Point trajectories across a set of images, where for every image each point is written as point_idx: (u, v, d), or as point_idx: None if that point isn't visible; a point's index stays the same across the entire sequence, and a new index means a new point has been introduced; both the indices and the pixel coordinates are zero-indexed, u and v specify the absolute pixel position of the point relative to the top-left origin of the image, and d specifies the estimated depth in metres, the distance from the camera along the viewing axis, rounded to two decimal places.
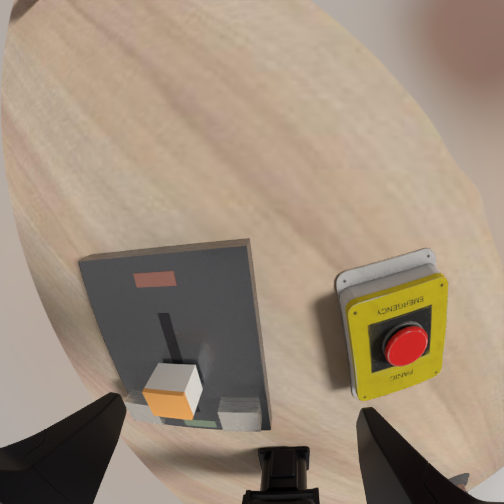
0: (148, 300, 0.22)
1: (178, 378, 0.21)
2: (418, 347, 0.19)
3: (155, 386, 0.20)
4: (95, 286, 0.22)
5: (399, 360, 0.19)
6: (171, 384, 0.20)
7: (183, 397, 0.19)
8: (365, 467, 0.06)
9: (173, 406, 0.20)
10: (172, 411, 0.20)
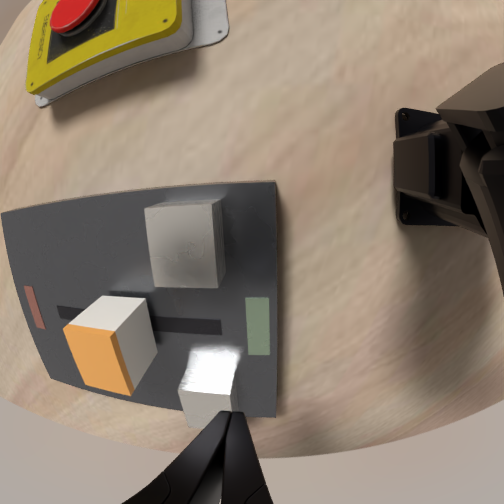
0: (52, 322, 0.17)
1: None
2: None
3: None
4: (62, 373, 0.18)
5: (81, 6, 0.09)
6: None
7: (66, 328, 0.11)
8: None
9: (89, 353, 0.11)
10: (102, 360, 0.11)
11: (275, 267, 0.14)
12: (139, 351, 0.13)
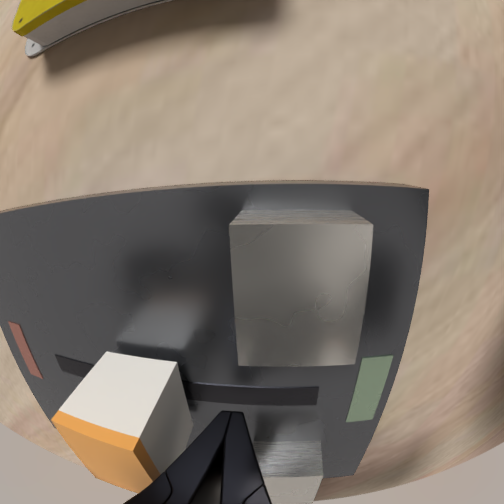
0: (51, 373, 0.11)
1: None
2: None
3: None
4: None
5: None
6: None
7: (57, 420, 0.06)
8: None
9: (99, 456, 0.06)
10: (120, 468, 0.06)
11: (410, 314, 0.08)
12: (173, 441, 0.08)
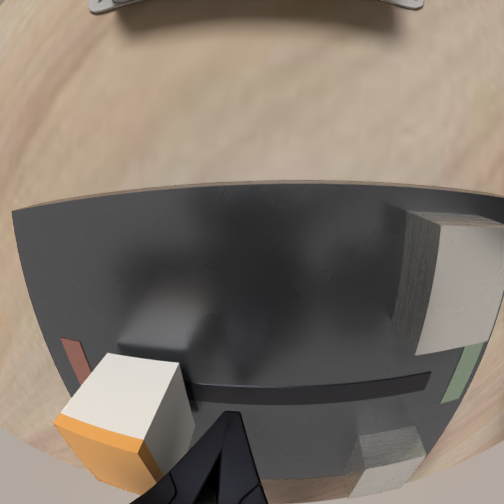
0: None
1: None
2: None
3: None
4: None
5: None
6: None
7: (59, 424, 0.06)
8: None
9: (102, 459, 0.06)
10: (124, 470, 0.06)
11: (500, 301, 0.08)
12: (176, 442, 0.08)
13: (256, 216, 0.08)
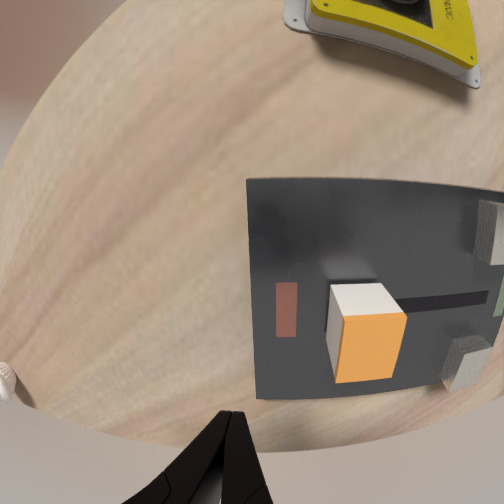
0: (315, 325, 0.16)
1: (334, 317, 0.14)
2: None
3: (335, 358, 0.13)
4: (289, 387, 0.18)
5: None
6: (337, 332, 0.13)
7: (349, 320, 0.11)
8: None
9: (370, 342, 0.12)
10: (382, 346, 0.12)
11: None
12: None
13: (425, 198, 0.14)
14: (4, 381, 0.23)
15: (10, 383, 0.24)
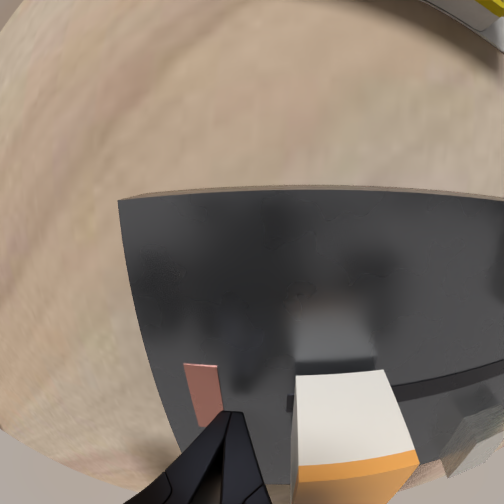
0: (254, 419, 0.10)
1: (295, 439, 0.07)
2: None
3: (291, 493, 0.06)
4: None
5: None
6: (294, 465, 0.06)
7: (308, 479, 0.05)
8: None
9: (347, 494, 0.05)
10: (368, 495, 0.05)
11: None
12: None
13: (452, 224, 0.07)
14: None
15: None
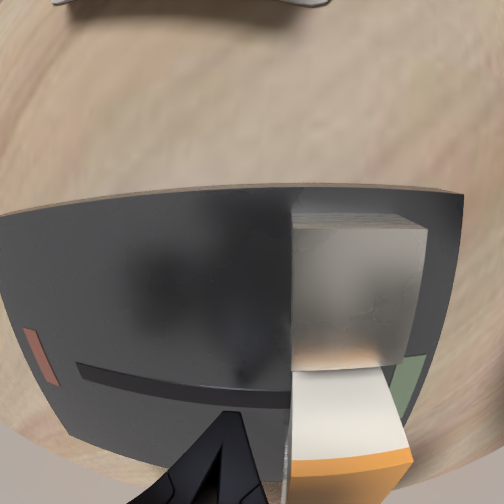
0: (69, 381, 0.11)
1: (290, 434, 0.07)
2: None
3: (286, 489, 0.06)
4: (87, 434, 0.13)
5: None
6: (289, 460, 0.06)
7: (301, 474, 0.05)
8: None
9: (341, 491, 0.05)
10: (362, 492, 0.05)
11: (444, 314, 0.08)
12: None
13: (142, 224, 0.08)
14: None
15: None
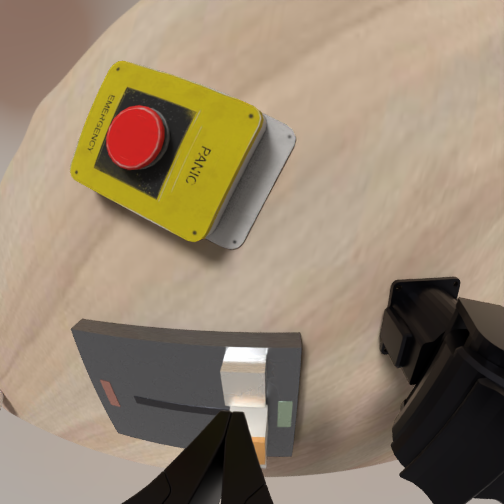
0: (127, 404, 0.23)
1: None
2: (141, 122, 0.14)
3: None
4: (131, 431, 0.25)
5: (138, 154, 0.14)
6: None
7: None
8: None
9: None
10: None
11: (297, 387, 0.20)
12: (266, 437, 0.19)
13: (169, 351, 0.20)
14: None
15: None
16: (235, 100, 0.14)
